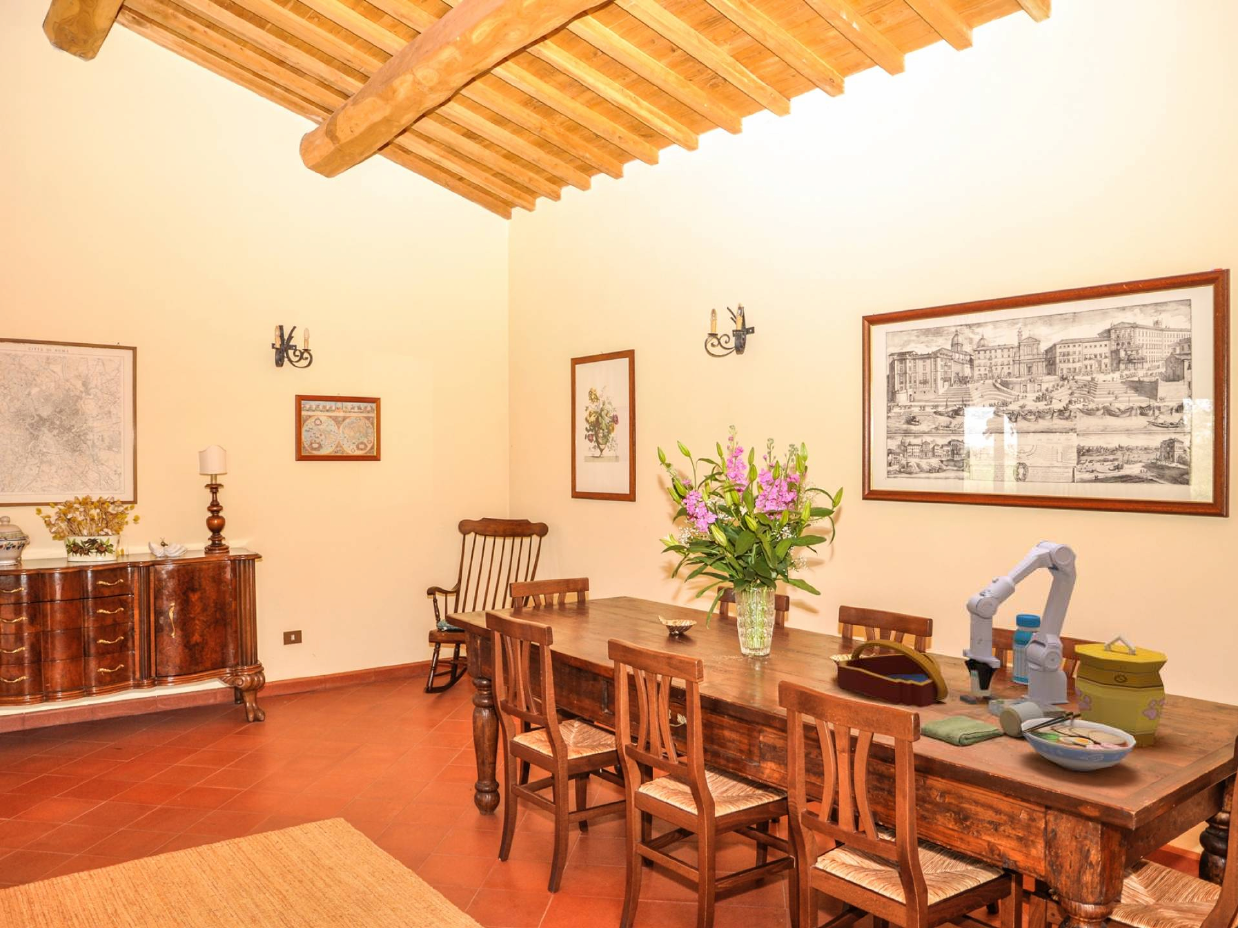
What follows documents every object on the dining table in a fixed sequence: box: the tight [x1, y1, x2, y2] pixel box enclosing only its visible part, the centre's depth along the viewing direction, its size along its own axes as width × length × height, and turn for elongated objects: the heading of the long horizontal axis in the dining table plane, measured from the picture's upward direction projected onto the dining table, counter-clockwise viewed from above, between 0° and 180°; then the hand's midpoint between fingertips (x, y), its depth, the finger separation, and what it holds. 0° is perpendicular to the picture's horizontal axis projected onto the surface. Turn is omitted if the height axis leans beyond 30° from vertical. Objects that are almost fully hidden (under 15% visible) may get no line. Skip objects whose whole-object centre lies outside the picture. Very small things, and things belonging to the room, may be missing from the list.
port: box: [988, 698, 1067, 718], centre depth 241 cm, size 14×12×4 cm
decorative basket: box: [836, 638, 949, 708], centre depth 266 cm, size 34×29×15 cm
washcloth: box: [920, 715, 1005, 747], centre depth 225 cm, size 13×18×3 cm
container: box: [1074, 633, 1168, 748], centre depth 226 cm, size 21×21×25 cm
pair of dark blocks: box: [959, 694, 1000, 705], centre depth 256 cm, size 9×5×1 cm, turn 102°
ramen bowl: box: [1017, 711, 1136, 772], centre depth 204 cm, size 25×23×8 cm
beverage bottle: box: [1011, 613, 1042, 686], centre depth 278 cm, size 8×8×20 cm
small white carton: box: [970, 670, 991, 697], centre depth 256 cm, size 4×3×6 cm
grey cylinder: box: [998, 702, 1045, 738], centre depth 224 cm, size 11×8×8 cm
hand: (980, 687), depth 256 cm, fingers closed on small white carton, 3 cm apart
